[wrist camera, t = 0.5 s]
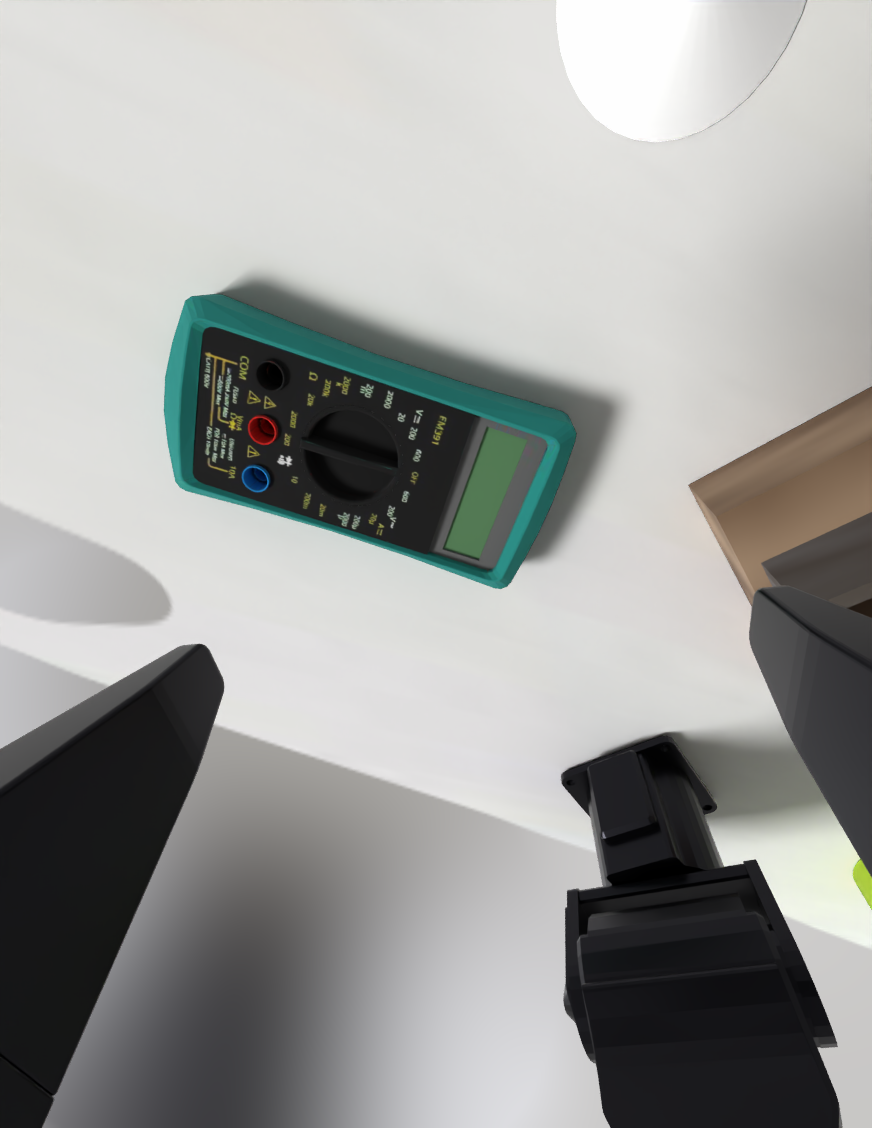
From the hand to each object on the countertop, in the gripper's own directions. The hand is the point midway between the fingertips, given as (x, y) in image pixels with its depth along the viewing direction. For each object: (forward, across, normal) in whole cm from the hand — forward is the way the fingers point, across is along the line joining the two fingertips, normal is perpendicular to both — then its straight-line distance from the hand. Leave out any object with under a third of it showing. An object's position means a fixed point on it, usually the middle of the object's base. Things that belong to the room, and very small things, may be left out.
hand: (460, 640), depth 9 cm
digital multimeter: (+14, +4, 0) cm, 15 cm away
